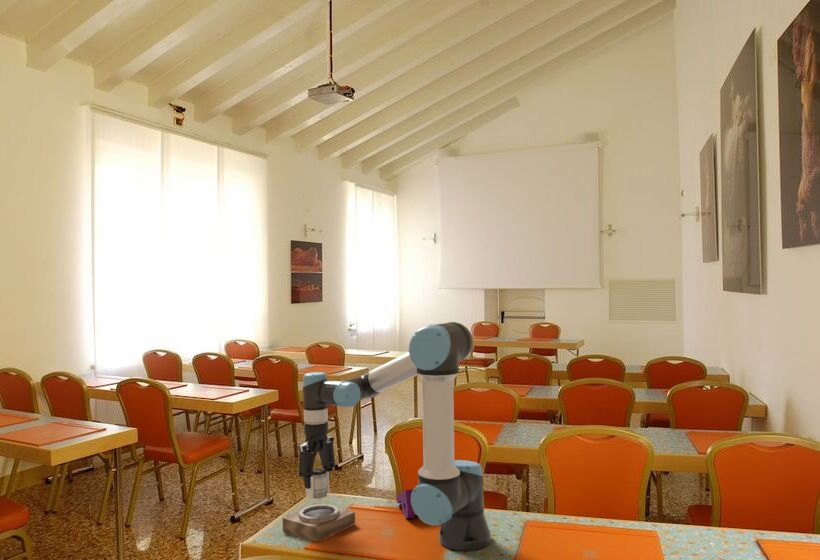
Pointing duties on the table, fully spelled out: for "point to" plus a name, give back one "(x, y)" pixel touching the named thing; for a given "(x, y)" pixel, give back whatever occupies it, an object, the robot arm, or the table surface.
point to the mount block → (318, 521)
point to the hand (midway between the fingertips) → (318, 494)
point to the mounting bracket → (406, 503)
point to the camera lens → (320, 483)
